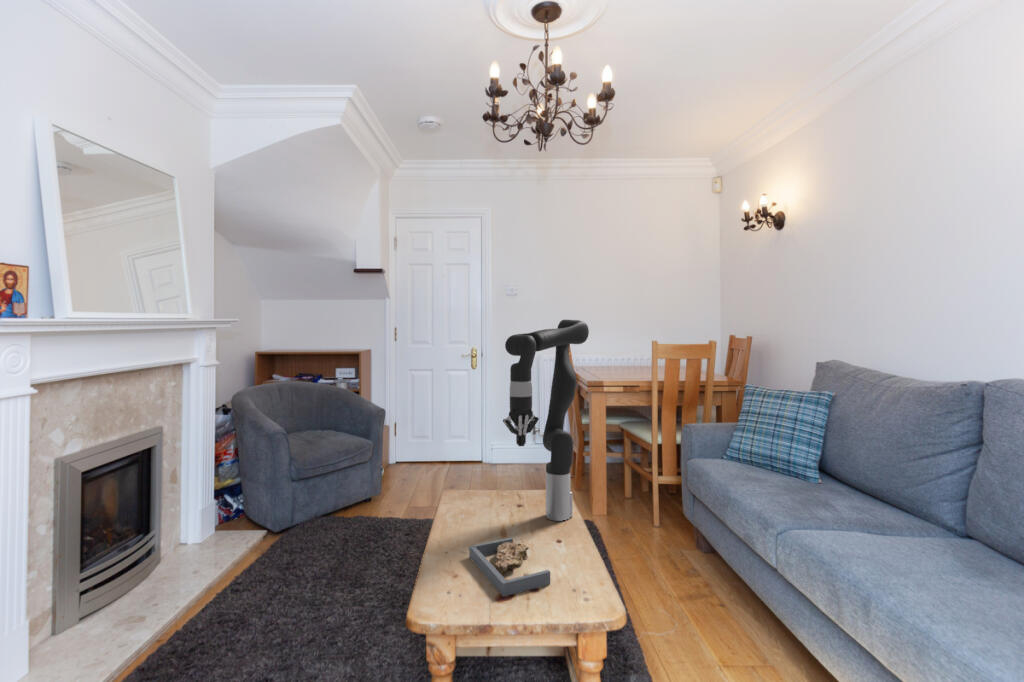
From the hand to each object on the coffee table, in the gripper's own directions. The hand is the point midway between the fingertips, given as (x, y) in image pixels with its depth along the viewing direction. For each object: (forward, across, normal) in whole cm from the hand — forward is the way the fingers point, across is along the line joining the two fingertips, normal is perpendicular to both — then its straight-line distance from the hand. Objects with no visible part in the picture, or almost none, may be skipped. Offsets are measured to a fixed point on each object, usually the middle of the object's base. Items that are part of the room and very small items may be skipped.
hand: (520, 445), depth 161 cm
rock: (+32, +10, +14) cm, 37 cm away
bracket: (+32, +13, +16) cm, 38 cm away
